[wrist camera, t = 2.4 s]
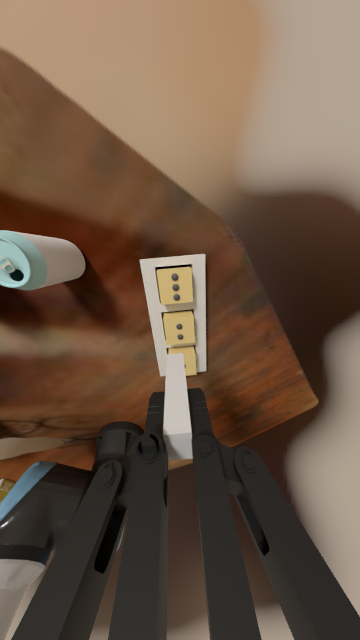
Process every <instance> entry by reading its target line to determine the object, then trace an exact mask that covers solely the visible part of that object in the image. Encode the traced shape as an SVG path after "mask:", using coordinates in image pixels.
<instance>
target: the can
mask: <svg viewBox="0 0 360 640" xmlns="http://www.w3.org/2000/svg"><path fill="white" fill-rule="evenodd" d="M84 270H85V260H84V257H83V255H82V253H81V251H80V250H79V249H78V248H77V247H76V246H75V245H74V244H73V243H71V242H69V241H67V240H64V239H58V238H51V237H45V236H38V235H32V234H25V233H19V232H12V231H5V230H1V231H0V285H2V286H5V287H9V288H16V289H21V290H34V289H38V288H42V287H46V286H50V285H54V284H58V283H62V282H66V281H70V280H74V279H77V278H79V277H80V276H81V275H82V274H83V273H84Z"/></svg>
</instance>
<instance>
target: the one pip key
mask: <svg viewBox="0 0 360 640" xmlns="http://www.w3.org/2000/svg"><path fill="white" fill-rule="evenodd" d="M176 353H183V356H184V366H185V375H186V376H189V375H196V365H197V363H196V354H195V350H194V346H193V345H190V346H181V347H171V348H169V351H168V354H176Z"/></svg>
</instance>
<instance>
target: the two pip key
mask: <svg viewBox="0 0 360 640" xmlns="http://www.w3.org/2000/svg"><path fill="white" fill-rule="evenodd" d="M163 321H164V329H165V336H166V343H167V345H176V344H186V343H195V330H194V326H195V321H194V316H193V313H192V311H181V312H171V313H164V317H163Z"/></svg>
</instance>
